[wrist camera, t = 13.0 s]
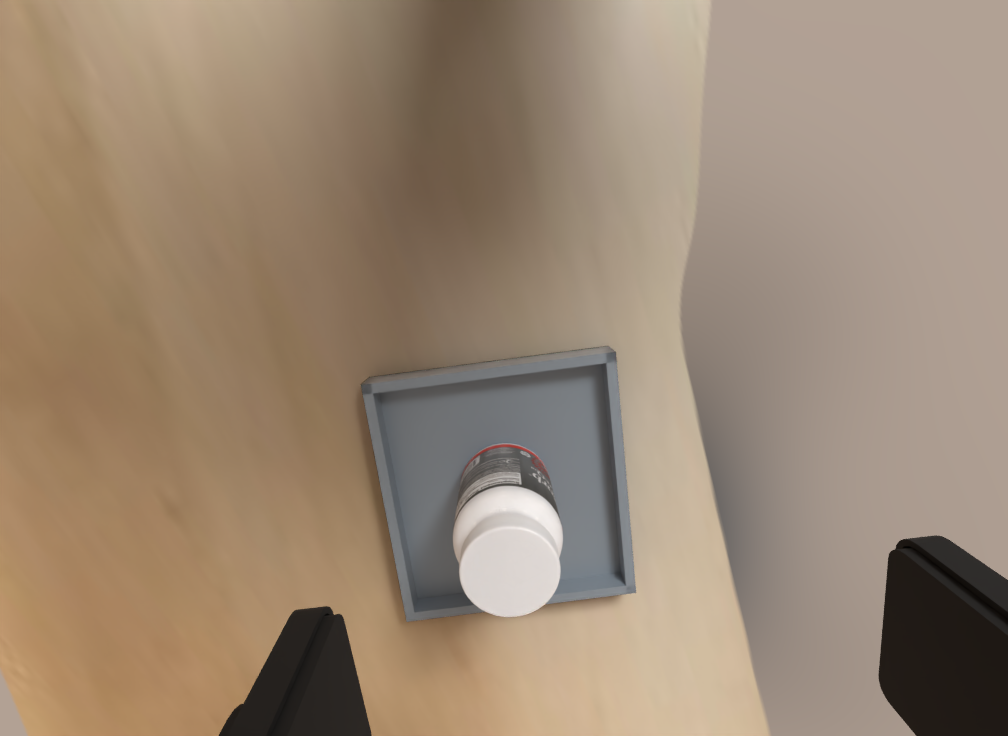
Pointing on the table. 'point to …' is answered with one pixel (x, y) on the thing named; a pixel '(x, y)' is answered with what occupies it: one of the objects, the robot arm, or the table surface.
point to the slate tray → (494, 420)
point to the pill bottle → (507, 531)
